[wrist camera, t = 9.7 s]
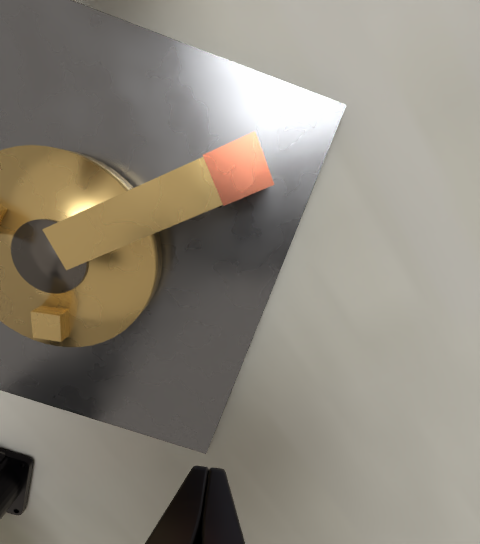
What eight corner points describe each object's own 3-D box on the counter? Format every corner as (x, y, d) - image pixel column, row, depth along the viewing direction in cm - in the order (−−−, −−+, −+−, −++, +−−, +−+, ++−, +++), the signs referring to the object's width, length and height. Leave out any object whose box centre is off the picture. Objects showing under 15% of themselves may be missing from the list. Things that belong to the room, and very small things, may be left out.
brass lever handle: (279, 170, 15) (291, 162, 10) (121, 375, 19) (74, 440, 14) (74, -3, 13) (-32, -114, 8) (-50, 264, 17) (-170, 295, 12)
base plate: (208, 442, 22) (205, 456, 21) (-105, 344, 21) (-126, 353, 20) (340, 110, 15) (347, 103, 14) (-116, -63, 14) (-149, -85, 13)
